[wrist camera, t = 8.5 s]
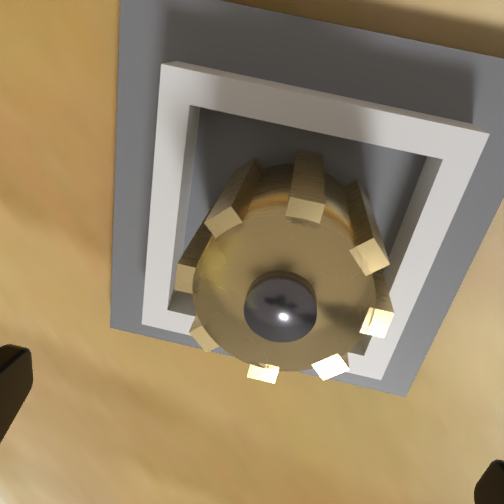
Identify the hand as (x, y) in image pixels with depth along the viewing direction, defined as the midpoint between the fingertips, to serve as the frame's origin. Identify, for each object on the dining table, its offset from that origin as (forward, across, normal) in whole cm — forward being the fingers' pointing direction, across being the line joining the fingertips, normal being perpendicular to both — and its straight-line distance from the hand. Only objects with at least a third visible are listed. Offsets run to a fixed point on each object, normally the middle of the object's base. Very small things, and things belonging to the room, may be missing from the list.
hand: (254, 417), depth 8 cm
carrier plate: (+10, 0, 0) cm, 10 cm away
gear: (+9, 0, 0) cm, 9 cm away
